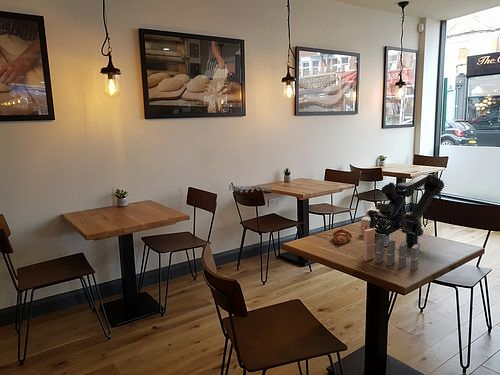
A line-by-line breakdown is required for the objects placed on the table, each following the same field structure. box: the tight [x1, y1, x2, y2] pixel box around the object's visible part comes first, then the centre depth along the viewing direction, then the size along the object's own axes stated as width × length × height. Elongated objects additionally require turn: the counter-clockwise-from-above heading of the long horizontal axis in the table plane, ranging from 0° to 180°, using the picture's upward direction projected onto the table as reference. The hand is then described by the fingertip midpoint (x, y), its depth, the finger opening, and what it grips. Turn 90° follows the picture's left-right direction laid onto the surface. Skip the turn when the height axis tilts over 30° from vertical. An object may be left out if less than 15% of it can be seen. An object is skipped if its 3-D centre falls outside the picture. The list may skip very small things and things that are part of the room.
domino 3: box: [386, 240, 396, 267], centre depth 170 cm, size 5×2×10 cm, turn 143°
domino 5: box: [409, 244, 420, 272], centre depth 164 cm, size 5×2×10 cm, turn 143°
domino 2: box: [374, 237, 385, 264], centre depth 173 cm, size 5×2×10 cm, turn 143°
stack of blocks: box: [360, 206, 382, 236], centre depth 218 cm, size 21×6×12 cm, turn 145°
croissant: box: [332, 227, 353, 244], centre depth 205 cm, size 21×10×8 cm, turn 159°
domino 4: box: [397, 241, 408, 269], centre depth 167 cm, size 5×2×10 cm, turn 143°
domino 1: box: [362, 228, 376, 262], centre depth 176 cm, size 5×2×14 cm, turn 123°
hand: (377, 233), depth 178 cm, fingers open, 9 cm apart
